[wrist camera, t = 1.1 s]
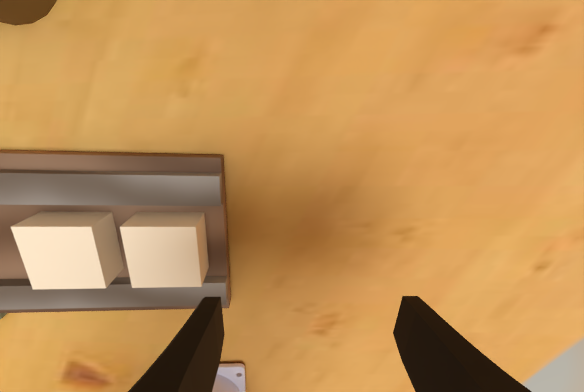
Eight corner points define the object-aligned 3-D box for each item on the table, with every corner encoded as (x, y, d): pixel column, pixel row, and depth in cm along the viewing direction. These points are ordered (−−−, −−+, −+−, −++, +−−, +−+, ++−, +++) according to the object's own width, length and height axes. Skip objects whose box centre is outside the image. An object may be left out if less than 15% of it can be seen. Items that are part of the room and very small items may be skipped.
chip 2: (208, 267, 20) (201, 286, 18) (146, 267, 19) (132, 287, 17) (204, 212, 18) (195, 226, 16) (137, 212, 18) (119, 226, 16)
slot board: (230, 298, 22) (227, 315, 20) (8, 303, 21) (-15, 321, 19) (223, 154, 18) (218, 160, 16) (-54, 148, 17) (-91, 154, 15)
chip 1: (123, 268, 19) (106, 288, 17) (58, 268, 19) (32, 289, 17) (112, 211, 18) (91, 226, 16) (41, 211, 17) (10, 226, 15)
